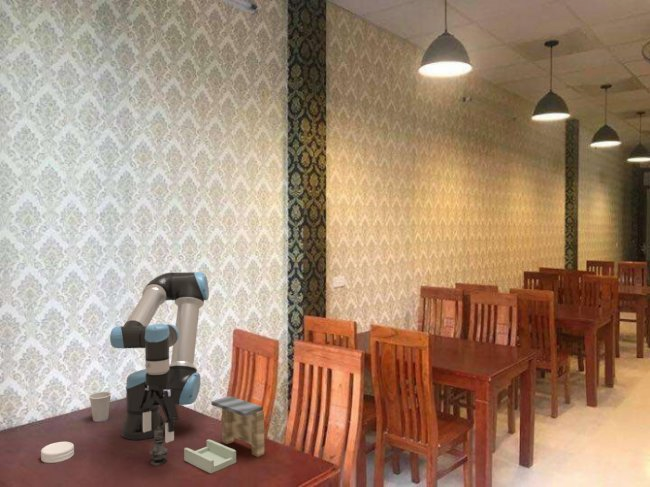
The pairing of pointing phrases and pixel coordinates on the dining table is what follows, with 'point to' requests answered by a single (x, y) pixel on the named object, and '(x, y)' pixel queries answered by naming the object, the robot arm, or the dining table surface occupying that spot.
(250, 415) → the checkered stool block
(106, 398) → the dixie cup
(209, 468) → the pale green tray
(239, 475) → the dining table surface
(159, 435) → the dark grey tall piece
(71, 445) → the coaster
